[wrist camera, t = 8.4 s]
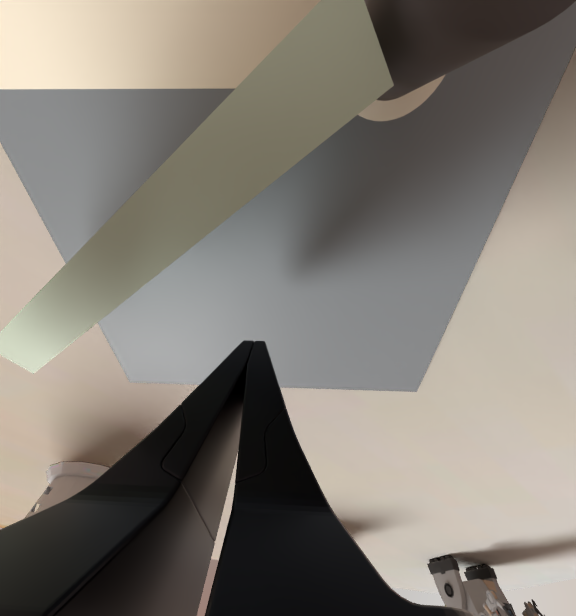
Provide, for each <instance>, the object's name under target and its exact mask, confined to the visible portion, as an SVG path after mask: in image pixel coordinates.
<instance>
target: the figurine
mask: <svg viewBox="0 0 576 616" xmlns="http://www.w3.org/2000/svg"><path fill="white" fill-rule="evenodd" d="M440 559H441V560H440ZM440 559H437V558H434V560H432V559H430V561H429V562H430V563H429V564H427V565H428V567H429V570H430V572H431V574H432V575H433V577H434V580H435V583H436V586H437V588H438V591H439V593H440V595H441V598H442V600H443V601H444V603H445V606H446V607H454V608H459V609H464V610H467V611H470V612H472V613H473V614H474V615H475V616H516V615H515V613H514V610H513V608H512V605H511V604H509V603H508V601H507V599H506V597H505V596H504V594H503V592H502V590H501V589H500V587H499V585H498V583H497V580H496V579H497V577H496V574H495V572H494V569H493V568H491V567H490V566H488V565H484V564H483V565H482V566H478V569H477V568H474V567H471V569H469V568H466V572H464V574H465V576H466V578H467V580H468V581H464V582H462V580H461V577H460V574H459V571H460V570H459V567H458V563H457V560H456V559H454V558H453V557H452V556H448V555H445V557H443V556H441V558H440ZM532 602H533V605H532V604H531V603H530V602H528V604H527V603H526V602H524V604H525V607H526V609H525V610H524V611H523V613H522V614H523V615H524V616H539V615H538V614H540V615H541V616H543V615H542V614H541V613H540V612H539V610H538V609H537V608H536V606H537V605H536V604H535V602H534V601H533V600H532ZM535 605H536V606H535Z"/></svg>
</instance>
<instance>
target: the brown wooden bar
mask: <svg viewBox="0 0 576 616" xmlns="http://www.w3.org/2000/svg"><path fill="white" fill-rule="evenodd" d="M364 1H365V4H366V7H367V10H368V13H369V15H370V18H371V21H372V24H373V27H374V30H375V33H376V35H377V38H378V41H379V44H380V47H381V50H382V53H383V56H384V58H385V61H386V64H387V67H388V70H389V73H390V76H391V78H392V81H393V84H394V86H393V87H391V88H390V89H389V90H388V91H386V92H385V93H384V94H383V95H381V96H380V97H379V98H378V99H376V100H380V101H388V100H393V99H397V98H399V97H402V96H404V95H406V94H408V93H410V92H412V91H414V90H416V89H418V88H420V87H422V86H424V85H426V84H427V83H429V82H431V81H433V80H435V79H437V78H439V77H441V76H443V75H445V74H447V73H449V72H451V71H453V70H455V69H457V68H459V67H461V66H463V65H465V64H467V63H469V62H471V61H473V60H475V59H477V58H479V57H481V56H483V55H485V54H487V53H489V52H491V51H493V50H495V49H497V48H499V47H501V46H503V45H505V44H507V43H509V42H511V41H513V40H515V39H517V38H519V37H521V36H523V35H525V34H527V33H529V32H531V31H533V30H535V29H537V28H539V27H540V26H542V25H544V24H546V23H547V22H549V21H551V20H552V19H553V18H555V17H556V16H558V15H559V14H561V13H562V12H563V11H565V10H566V9H567V8H568V7H570V6H571V5H572V4H573V3H574V2H575V1H576V0H364Z"/></svg>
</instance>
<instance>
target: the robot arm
mask: <svg viewBox="0 0 576 616" xmlns="http://www.w3.org/2000/svg"><path fill="white" fill-rule="evenodd" d="M181 405H182V406H181ZM181 405H179V406H178V407H177V408H176V409H175V410H174V411H173V412H172V413H171V414H170V415H169V416H168V417H167V418H166V419H165V420H164V421H163V422H162V423H161V424H160V425H159V426H158V427H157V428H155V429H154V430H153V431H152V432H151V433H150V434H149V435H148V436H146V437H145V438H144V439H143V440H142V441H141V442H140V443H138V444H137V445H136V446H135V447H134V448H133V449H131V450H130V451H129V452H128V453H127V454H126V455H124V456H123V457H122V458H121V459H120V460H119V461H117V462H116V463H115V464H114V465H113V466H112V467H110V468H109V469H108V470H107V471H106V472H105V473H103V474H102V475H101V476H100V477H99V478H97V479H96V480H95V481H94V482H92V483H91V484H90V485H88V486H87V487H86V488H84V489H83V490H81V491H80V492H78V493H77V494H75V495H73V496H71V497H70V498H68V499H66V500H64V501H62V502H60V503H58V504H55V505H53V506H51V507H49V508H47V509H45V510H42V511H40V512H38V513H36V514H34V515H31V516H29V517H27V518H25V519H23V520H20V521H18V522H16V523H14V524H12V525H9V526H7V527H5V528H3V529H1V530H0V616H196V615H197V611H198V608H199V603H200V600H201V596H202V592H203V588H204V584H205V580H206V576H207V571H208V568H209V564H210V560H211V556H212V552H213V548H214V544H215V543H214V541H215V540H216V536H217V532H218V528H219V524H220V520H221V516H222V512H223V508H224V504H225V500H226V496H227V492H228V488H229V484H230V480H231V476H232V472H233V468H234V464H235V460H236V456H237V452H238V459H237V469H236V479H235V484H236V485H235V490H234V498H233V504H232V510H231V514H230V518H229V522H228V526H227V530H226V534H225V538H224V542H223V546H222V550H221V554H220V558H219V562H218V566H217V570H216V574H215V577H214V581H213V585H212V589H211V594H210V597H209V601H208V605H207V609H206V613H205V616H475V615H474V614H473V613H472V612H470V611H467V610H464V609H459V608H454V607H446V606H431V605H420V604H416V603H412V602H410V601H408V600H406V599H405V598H403V597H401V596H400V595H399V594H397V593H396V592H395V591H394V590H392V589H391V588H390V586H389V585H388V584H387V583H386V582H385V581H384V580H383V578H382V577H381V576H380V574H379V573H378V572H377V570H376V569H375V568H374V566H373V565H372V564H371V562H370V561H369V559H368V558H367V557H366V555H365V554H364V553H363V551H362V550H361V549H360V547H359V546H358V545H357V543H356V542H355V541H354V539H353V538H352V536H351V535H350V534H349V532H348V531H347V530H346V528H345V527H344V526H343V524H342V523H341V522H340V520H339V519H338V518H337V516H336V515H335V513H334V512H333V510H332V508H331V507H330V505H329V503H328V502H327V500H326V498H325V496H324V494H323V492H322V490H321V488H320V486H319V484H318V482H317V480H316V478H315V476H314V474H313V472H312V470H311V467H310V465H309V463H308V461H307V459H306V457H305V455H304V453H303V451H302V449H301V446H300V444H299V442H298V439H297V437H296V435H295V432H294V430H293V427H292V424H291V421H290V418H289V415H288V412H287V409H286V406H285V403H284V400H283V396H282V393H281V390H280V387H279V384H278V380H277V377H276V374H275V371H274V368H273V365H272V361H271V358H270V355H269V352H268V349H267V345H266V342H265V341H255V342H254V341H252V340H244V341H242V342H241V343H240V344H239V345H238V346H237V347H236V348H235V349H234V350H233V351H232V352H231V353H230V354H229V355H228V356H227V357H226V358H225V359H224V361H223V362H222V363H221V364H220V365H219V366H218V367H217V368H216V369H215V370H214V371H213V372H212V373H211V374H210V375H209V376H208V377H207V378H206V379H205V380H204V381H203V382H202V383H201V384H200V385H199V386H198V387H197V388H196V389H195V390H194V391H193V392H192V393H191V394H190V395H189V396H188V397H187V398H186V399H185V400H184V401H183V402H182V403H181Z"/></svg>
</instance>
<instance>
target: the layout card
mask: <svg viewBox="0 0 576 616" xmlns="http://www.w3.org/2000/svg"><path fill="white" fill-rule="evenodd" d="M320 1H321V0H0V142H1V144H2V146H3V148H4V150H5V152H6V154H7V155H8V157H9V159H10V161H11V163H12V165H13V167H14V168H15V170H16V172H17V174H18V176H19V178H20V180H21V181H22V183H23V185H24V187H25V189H26V191H27V193H28V194H29V196H30V198H31V200H32V202H33V204H34V206H35V207H36V209H37V211H38V213H39V215H40V217H41V218H42V220H43V222H44V224H45V226H46V228H47V230H48V231H49V233H50V235H51V237H52V239H53V241H54V243H55V244H56V246H57V248H58V250H59V252H60V254H61V256H62V257H63V259H64V261H65V263H67V262H68V261H69V260H70V259H71V258H72V257H73V256H74V255H75V254H76V253H77V252H78V251H79V250H80V249H81V248H82V247H83V246H84V245H85V244H86V243H87V242H88V241H89V240H90V239H91V238H92V237H93V236H94V234H95V233H96V232H97V231H98V230H99V229H100V228H101V227H102V226H103V225H104V224H105V223H106V222H107V221H108V220H109V219H110V218H111V217H112V216H113V215H114V214H115V213H116V212H117V211H118V210H119V209H120V208H121V207H122V205H123V204H124V203H125V202H126V201H127V200H128V199H129V198H130V197H131V196H132V195H133V194H134V193H135V192H136V191H137V190H138V189H139V188H140V187H141V186H142V185H143V184H144V183H145V182H146V181H147V180H148V179H149V178H150V177H151V175H152V174H153V173H154V172H155V171H156V170H157V169H158V168H159V167H160V166H161V165H162V164H163V163H164V162H165V161H166V160H167V159H168V158H169V157H170V156H171V155H172V154H173V153H174V152H175V151H176V150H177V149H178V148H179V146H180V145H181V144H182V143H183V142H184V141H185V140H186V139H187V138H188V137H189V136H190V135H191V134H192V133H193V132H194V131H195V130H196V129H197V128H198V127H199V126H200V125H201V124H202V123H203V122H204V121H205V120H206V119H207V118H208V116H209V115H210V114H211V113H212V112H213V111H214V110H215V109H216V108H217V107H218V106H219V105H220V104H221V103H222V102H223V101H224V100H225V99H226V98H227V97H228V96H229V95H230V94H231V93H232V92H233V91H234V90H235V89H236V88H237V86H238V85H239V84H240V83H241V82H242V81H243V80H244V79H245V78H246V77H247V76H248V75H249V74H250V73H251V72H252V71H253V70H254V69H255V68H256V67H257V66H258V65H259V64H260V63H261V62H262V61H263V60H264V59H265V57H266V56H267V55H268V54H269V53H270V52H271V51H272V50H273V49H274V48H275V47H276V46H277V45H278V44H279V43H280V42H281V41H282V40H283V39H284V38H285V37H286V36H287V35H288V34H289V33H290V32H291V31H292V30H293V29H294V27H295V26H296V25H297V24H298V23H299V22H300V21H301V20H302V19H303V18H304V17H305V16H306V15H307V14H308V13H309V12H310V11H311V10H312V9H313V8H314V7H315V6H316V5H317V4H318V3H319V2H320ZM575 48H576V1H575V2H574V3H573V4H572V5H571V6H570V7H568V8H567V9H566V10H565V11H563V12H562V13H561V14H559V15H558V16H556V17H555V18H553V19H552V20H551V21H549V22H547V23H546V24H544V25H542V26H540V27H539V28H537V29H535V30H533V31H531V32H529V33H527V34H525V35H523V36H521V37H519V38H517V39H515V40H513V41H511V42H509V43H507V44H505V45H503V46H501V47H499V48H497V49H495V50H493V51H491V52H489V53H487V54H485V55H483V56H481V57H479V58H477V59H475V60H473V61H471V62H469V63H467V64H465V65H463V66H461V67H459V68H457V69H455V70H453V71H451V72H449V73H447V74H445V75H443V76H441V77H439V78H437V79H435V80H433V81H431V82H429V83H427V84H426V85H424V86H422V87H420V88H418V89H416V90H414V91H412V92H410V93H408V94H406V95H404V96H402V97H399V98H397V99H393V100H388V101H380V100H375V101H374V102H373V103H371V104H370V105H369V106H368V107H366V108H365V109H364V110H363V111H361V112H360V113H359V114H358V115H356V116H355V117H354V118H353V119H351V120H350V121H349V122H348V123H346V124H345V125H344V126H343V127H341V128H340V129H339V130H338V131H336V132H335V133H334V134H333V135H331V136H330V137H329V138H328V139H326V140H325V141H324V142H323V143H321V144H320V145H319V146H318V147H316V148H315V149H314V150H313V151H311V152H310V153H309V154H308V155H306V156H305V157H304V158H303V159H301V160H300V161H299V162H298V163H296V164H295V165H294V166H293V167H291V168H290V169H289V170H288V171H286V172H285V173H284V174H283V175H281V176H280V177H279V178H278V179H276V180H275V181H274V182H273V183H271V184H270V185H269V186H268V187H266V188H265V189H264V190H263V191H261V192H260V193H259V194H258V195H256V196H255V197H254V198H253V199H251V200H250V201H249V202H248V203H246V204H245V205H244V206H243V207H241V208H240V209H239V210H238V211H236V212H235V213H234V214H233V215H231V216H230V217H229V218H228V219H226V220H225V221H224V222H223V223H221V224H220V225H219V226H218V227H216V228H215V229H214V230H213V231H211V232H210V233H209V234H208V235H206V236H205V237H204V238H203V239H201V240H200V241H199V242H198V243H196V244H195V245H194V246H193V247H191V248H190V249H189V250H188V251H186V252H185V253H184V254H183V255H181V256H180V257H179V258H178V259H176V260H175V261H174V262H173V263H171V264H170V265H169V266H168V267H166V268H165V269H164V270H163V271H161V272H160V273H159V274H158V275H157V276H155V277H154V278H153V279H152V280H150V281H149V282H148V283H147V284H145V285H144V286H143V287H142V288H140V289H139V290H138V291H137V292H135V293H134V294H133V295H132V296H130V297H129V298H128V299H127V300H125V301H124V302H123V303H122V304H120V305H119V306H118V307H117V308H115V309H114V310H113V311H112V312H110V313H109V314H108V315H107V316H105V317H104V318H103V319H102V320H100V321H99V322H98V324H99V326H100V328H101V330H102V332H103V334H104V335H105V337H106V339H107V341H108V343H109V345H110V347H111V348H112V350H113V352H114V354H115V356H116V358H117V359H118V361H119V363H120V365H121V367H122V369H123V371H124V372H125V374H126V376H127V378H128V380H129V382H132V383H162V384H193V385H200V384H201V383H202V382H203V381H204V380H205V379H206V378H207V377H208V376H209V375H210V374H211V373H212V372H213V371H214V370H215V369H216V368H217V367H218V366H219V365H220V364H221V363H222V362H223V361H224V359H225V358H226V357H227V356H228V355H229V354H230V353H231V352H232V351H233V350H234V349H235V348H236V347H237V346H238V345H239V344H240V343H241V342H242V341H244V340H252V341H254V342H255V341H265V342H266V345H267V349H268V352H269V355H270V358H271V361H272V365H273V368H274V371H275V374H276V377H277V380H278V384H279V387H285V388H316V389H347V390H377V391H408V392H417V390H418V388H419V386H420V384H421V381H422V379H423V377H424V375H425V373H426V371H427V368H428V366H429V364H430V362H431V360H432V358H433V355H434V353H435V351H436V349H437V347H438V345H439V342H440V340H441V338H442V336H443V334H444V332H445V329H446V327H447V325H448V323H449V321H450V319H451V316H452V314H453V312H454V310H455V308H456V306H457V303H458V301H459V299H460V297H461V295H462V293H463V290H464V288H465V286H466V284H467V282H468V280H469V277H470V275H471V273H472V271H473V269H474V267H475V264H476V262H477V260H478V258H479V256H480V254H481V251H482V249H483V247H484V245H485V243H486V241H487V238H488V236H489V234H490V232H491V230H492V228H493V225H494V223H495V221H496V219H497V217H498V215H499V212H500V210H501V208H502V206H503V204H504V202H505V199H506V197H507V195H508V193H509V191H510V189H511V186H512V184H513V182H514V180H515V178H516V176H517V173H518V171H519V169H520V167H521V165H522V163H523V160H524V158H525V156H526V154H527V152H528V150H529V147H530V145H531V143H532V141H533V139H534V137H535V134H536V132H537V130H538V128H539V126H540V124H541V122H542V119H543V117H544V115H545V113H546V111H547V109H548V106H549V104H550V102H551V100H552V98H553V96H554V93H555V91H556V89H557V87H558V85H559V83H560V80H561V78H562V76H563V74H564V72H565V70H566V67H567V65H568V63H569V61H570V59H571V57H572V54H573V52H574V50H575Z"/></svg>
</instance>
